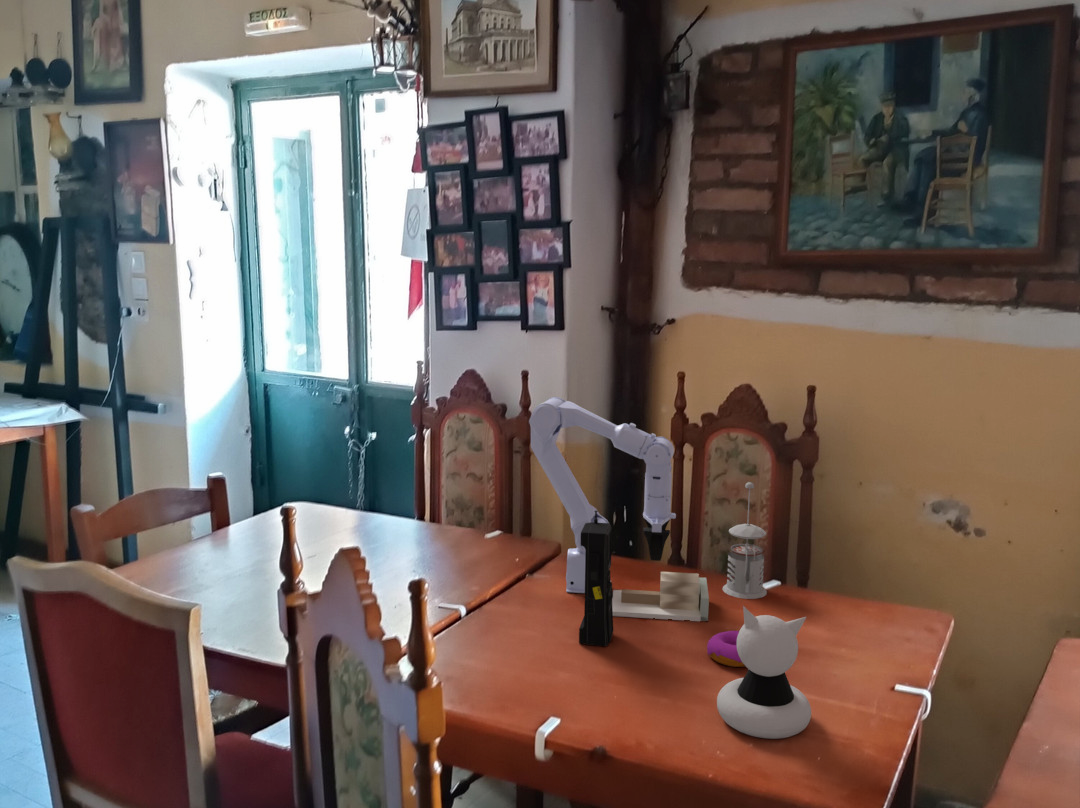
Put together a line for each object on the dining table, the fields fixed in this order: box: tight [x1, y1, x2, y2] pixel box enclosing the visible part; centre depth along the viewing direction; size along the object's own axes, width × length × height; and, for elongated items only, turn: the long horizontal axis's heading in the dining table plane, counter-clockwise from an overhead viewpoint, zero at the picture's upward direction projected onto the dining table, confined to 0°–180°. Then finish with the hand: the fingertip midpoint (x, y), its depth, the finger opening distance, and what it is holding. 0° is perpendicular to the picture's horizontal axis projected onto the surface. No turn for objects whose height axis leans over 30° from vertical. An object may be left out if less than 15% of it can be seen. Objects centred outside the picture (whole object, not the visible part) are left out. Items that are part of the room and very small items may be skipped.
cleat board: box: [612, 576, 710, 622], centre depth 189 cm, size 20×12×5 cm, turn 82°
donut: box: [706, 630, 746, 668], centre depth 165 cm, size 10×10×4 cm
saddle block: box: [659, 571, 700, 611], centre depth 188 cm, size 8×6×6 cm
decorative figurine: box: [716, 605, 812, 740], centre depth 142 cm, size 15×15×20 cm
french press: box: [722, 481, 768, 600], centre depth 196 cm, size 10×12×25 cm
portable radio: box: [578, 510, 615, 647], centre depth 171 cm, size 8×6×25 cm
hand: (655, 554), depth 195 cm, fingers open, 7 cm apart
